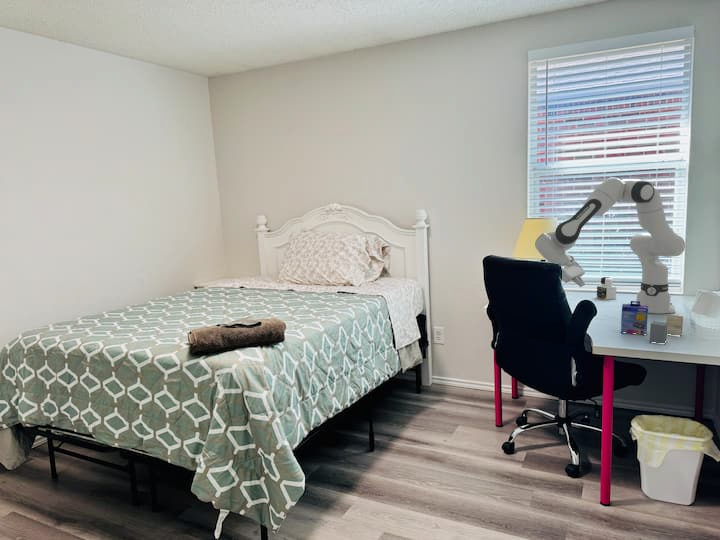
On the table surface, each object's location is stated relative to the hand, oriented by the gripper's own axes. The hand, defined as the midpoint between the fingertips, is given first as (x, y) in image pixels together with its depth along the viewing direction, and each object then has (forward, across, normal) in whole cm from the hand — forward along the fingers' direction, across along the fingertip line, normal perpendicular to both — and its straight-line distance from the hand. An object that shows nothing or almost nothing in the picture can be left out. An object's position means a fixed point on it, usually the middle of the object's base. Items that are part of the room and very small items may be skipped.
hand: (583, 285), depth 227 cm
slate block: (+36, -9, -10) cm, 39 cm away
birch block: (+38, +6, -12) cm, 41 cm away
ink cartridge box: (+29, 0, -2) cm, 29 cm away
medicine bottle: (+8, +65, +18) cm, 68 cm away
